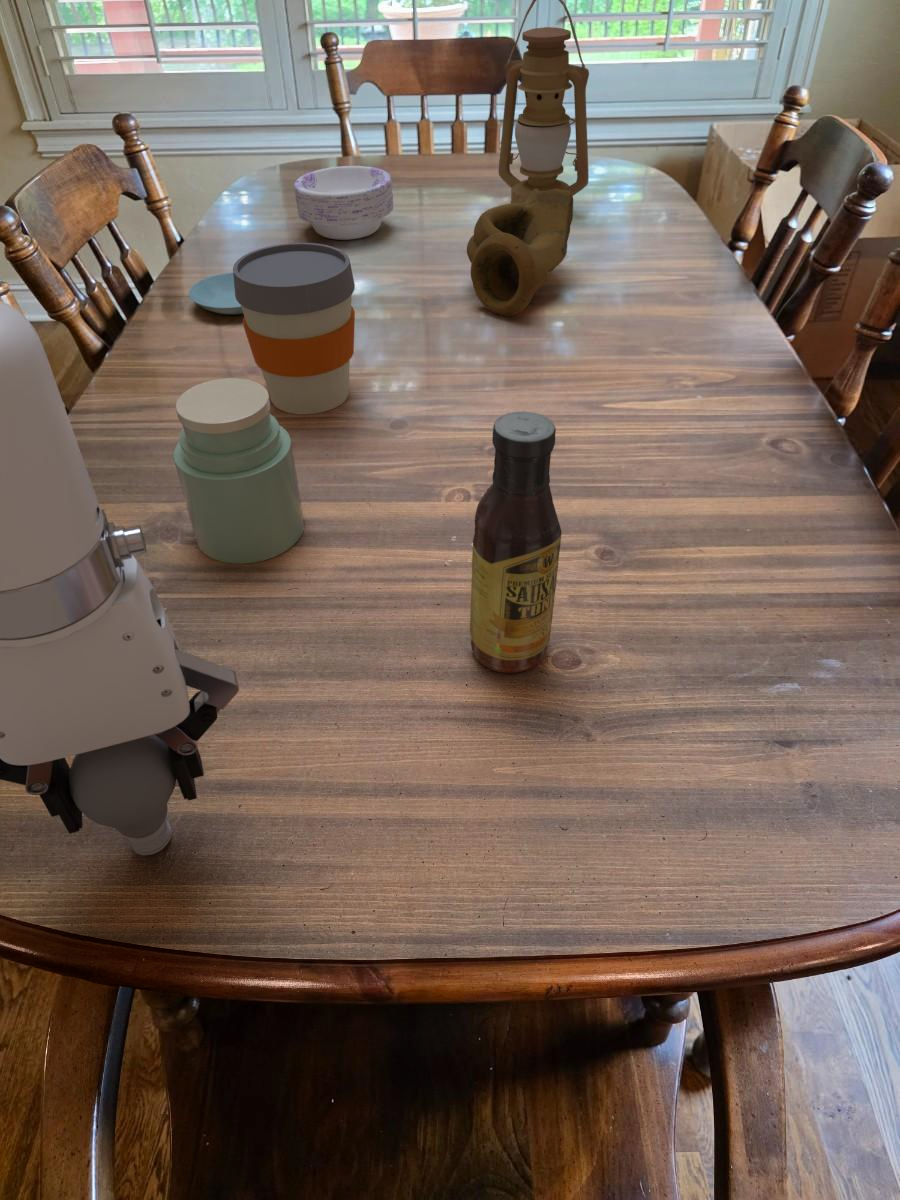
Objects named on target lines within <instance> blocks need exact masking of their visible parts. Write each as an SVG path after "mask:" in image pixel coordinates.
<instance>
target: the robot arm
mask: <svg viewBox="0 0 900 1200" xmlns="http://www.w3.org/2000/svg"><path fill="white" fill-rule="evenodd" d="M80 449H81V448H80V447H79V444H78V440H77V438H76V435H75V433H74V430H73V427H72V424H71V421H70V417H69V415H68V412H67V409H66V406H65V403H64V401H63V398H62V396H61V393H60V390H59V387H58V384H57V381H56V378H55V376H54V372H53V370H52V367H51V364H50V362H49V359H48V355H47V354H46V351H45V348H44V346H43V343H42V341H41V338H40V336H39V334H38V332H37V330H36V329H35V328H34V326H33V325H32V323H31V322H30V321H29V319H28V318H27V317H26V316H25V315H24V314H23V313H22V312H20V311H19V310H18V309H16V308H15V307H14V306H12V305H10V304H9V303H8V302H7V303H6V302H4V301H1V300H0V781H4V782H8V783H13V784H18V785H22V786H24V789H25V792H26V793H27V794H29V795H33V796H39V797H40V799H41V801H42V802H43V804H44V806H45V808H46V810H47V812H48V813H49V815H50V817H52V818H54V817H57V816H59V818H60V819H61V821H62V823H63V825H64V827H65V828H66V831H67V833H68V834H73V833H78V832H80V829H82V828H83V813H82V812H81V811H80V810H79V808H78V807H77V806H76V804H75V802H74V800H73V798H72V796H71V794H70V789H69V771H70V768H71V766H70V765H69V762H68V761H67V759H66V758H68V757H72V756H76V755H77V754H81V753H85V752H89V751H92V750H96V749H100V748H104V747H108V746H112V745H116V744H119V743H123V742H127V741H131V740H135V739H138V738H142V737H145V736H149V735H153V734H154V735H156V736H157V737H158V738H159V739H160V740H162V741H163V742H164V743H165V744H167V745H168V747H169V755H170V762H171V766H172V768H173V771H174V774H175V776H176V783H177V784H178V787H179V790H180V792H181V795H182V798H183V800H187V801H192V800H196V799H198V796H197V795H198V794H197V788H196V782H195V779H197V778H200V777H204V776H205V774H204V773H205V772H204V766H203V762H202V757H201V753H200V750H199V747H198V741H200V739H201V738H202V736H204V734H205V733H207V731H208V730H209V729H210V728H211V727H212V725H213V724H214V723H215V722H216V721H217V719H218V713H220V711H221V710H224V709H225V708H226V707H227V705H229V704H230V702H231V701H232V700H233V699H235V697H236V696H237V694H238V693H239V691H240V685H239V681H238V676H237V673H236V672H235V670H233V669H231V668H227V667H225V666H222V665H220V664H217V663H215V662H211V661H209V660H207V659H204V658H201V657H199V656H196V655H193V654H191V653H188V652H186V651H184V650H181V647H180V645H179V643H178V640H177V637H176V635H175V632H174V630H173V628H172V627H173V626H172V624H171V622H170V620H169V618H168V615H167V613H166V611H165V608H164V605H163V604H162V601H161V600H160V598H159V596H158V594H157V592H156V589H155V587H154V585H153V584H152V582H151V580H150V578H149V577H148V575H147V573H146V571H145V569H143V567H142V565H141V564H140V563H139V561H138V559H137V558H136V557H135V556H136V555H137V556H138V555H140V554H141V555H142V554H146V553H147V551H148V550H147V543H146V539H145V536H144V532H143V530H142V527H141V526H140V525H136V526H132V527H127V528H126V527H124V526H118V527H116V525H115V524H114V522H113V521H108V518H107V515H106V512H105V509H101V506H100V504H99V501H98V497H97V495H96V492H95V489H94V486H93V484H92V480H91V478H90V475H89V472H88V469H87V466H86V463H85V461H84V457H83V455H82V452H81V450H80ZM187 687H190V688H192V689H195V690H197V692H195V693H194V694H193V696H192V697H191V698H190V699H189V692H188V688H187Z"/></svg>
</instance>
